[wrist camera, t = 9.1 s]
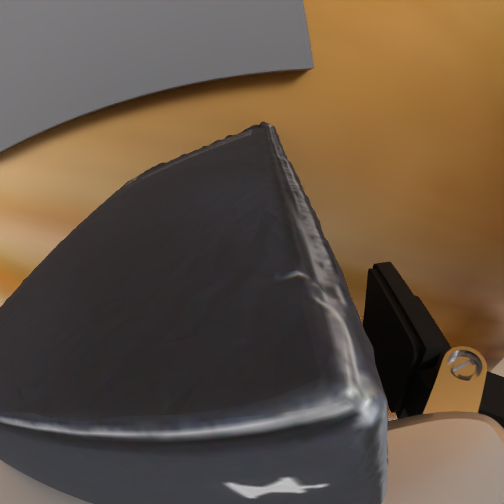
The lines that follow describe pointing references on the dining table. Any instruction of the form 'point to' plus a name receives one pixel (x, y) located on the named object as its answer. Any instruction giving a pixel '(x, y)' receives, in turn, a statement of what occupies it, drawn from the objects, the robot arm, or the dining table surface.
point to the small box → (195, 346)
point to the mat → (133, 52)
